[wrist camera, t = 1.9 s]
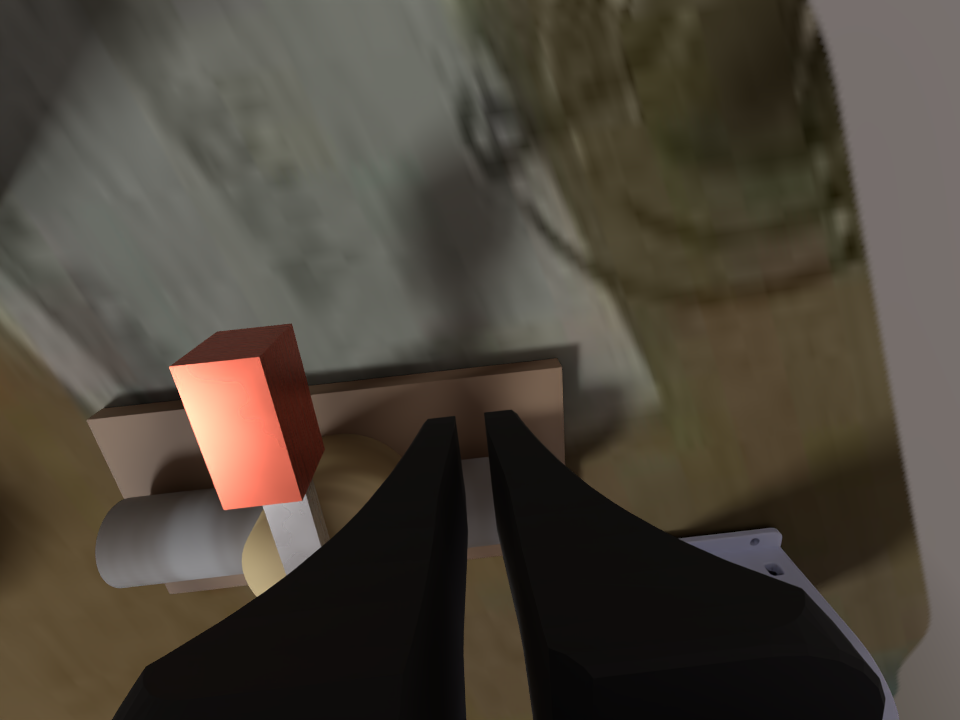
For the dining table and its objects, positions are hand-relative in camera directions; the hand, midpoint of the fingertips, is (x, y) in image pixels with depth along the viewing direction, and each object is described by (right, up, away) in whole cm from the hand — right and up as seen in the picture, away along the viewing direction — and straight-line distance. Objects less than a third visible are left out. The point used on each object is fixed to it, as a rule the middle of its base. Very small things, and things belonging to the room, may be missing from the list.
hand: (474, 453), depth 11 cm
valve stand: (-6, -4, +12) cm, 14 cm away
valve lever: (-6, -2, +6) cm, 8 cm away
